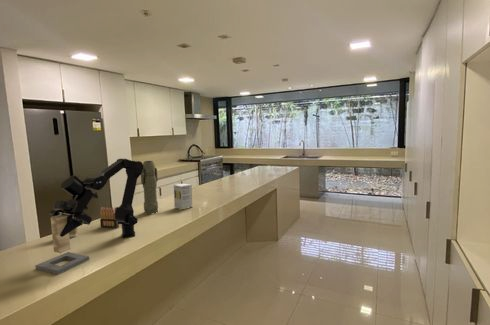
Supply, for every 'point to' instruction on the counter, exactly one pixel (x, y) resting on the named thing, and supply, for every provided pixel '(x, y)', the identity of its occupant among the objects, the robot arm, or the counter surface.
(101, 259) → the counter surface
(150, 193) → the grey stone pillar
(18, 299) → the counter surface
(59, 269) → the socket board
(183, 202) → the supplement box
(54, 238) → the maple peg
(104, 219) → the ammunition clip
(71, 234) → the skincare box
